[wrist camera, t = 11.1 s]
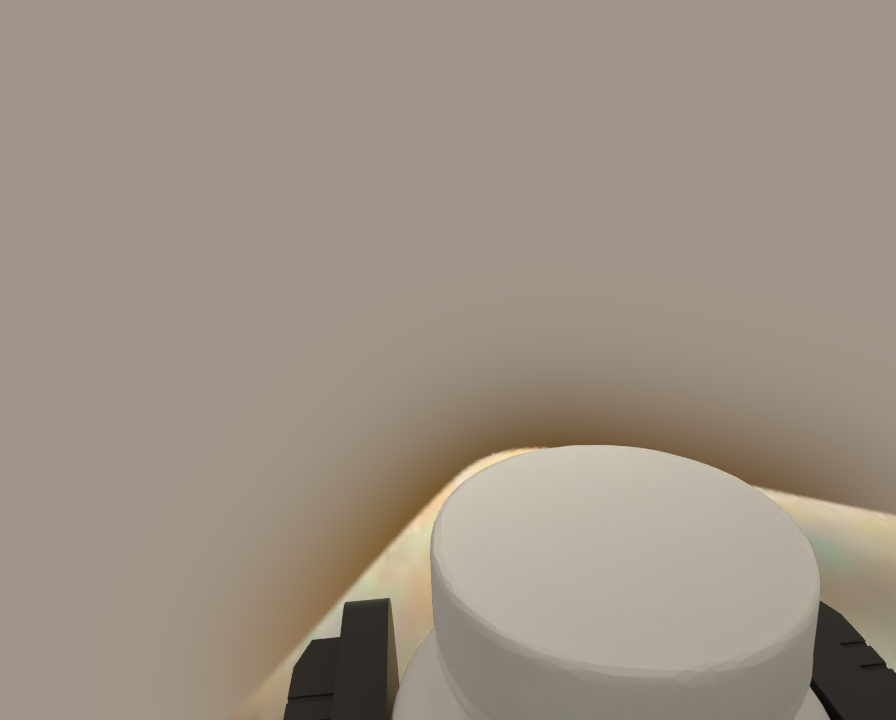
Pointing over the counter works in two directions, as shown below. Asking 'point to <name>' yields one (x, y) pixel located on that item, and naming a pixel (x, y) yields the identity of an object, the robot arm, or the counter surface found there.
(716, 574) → the supplement bottle
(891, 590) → the counter surface
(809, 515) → the counter surface
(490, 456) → the counter surface
